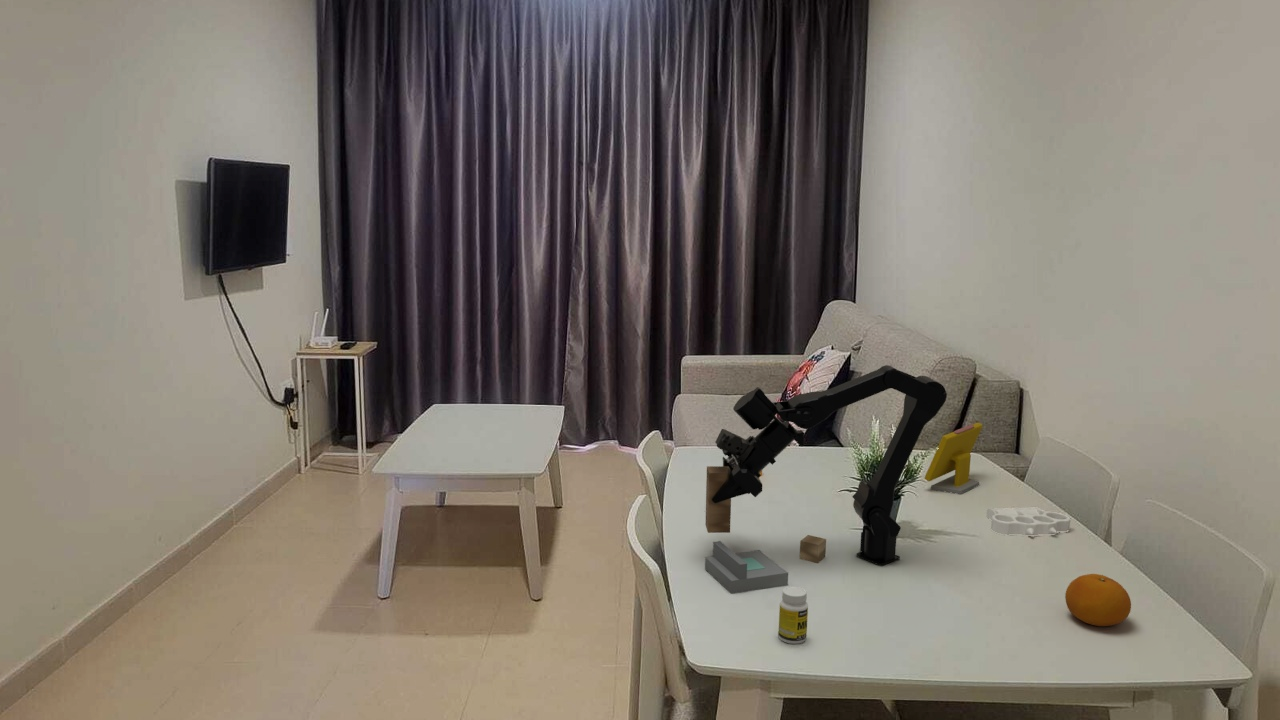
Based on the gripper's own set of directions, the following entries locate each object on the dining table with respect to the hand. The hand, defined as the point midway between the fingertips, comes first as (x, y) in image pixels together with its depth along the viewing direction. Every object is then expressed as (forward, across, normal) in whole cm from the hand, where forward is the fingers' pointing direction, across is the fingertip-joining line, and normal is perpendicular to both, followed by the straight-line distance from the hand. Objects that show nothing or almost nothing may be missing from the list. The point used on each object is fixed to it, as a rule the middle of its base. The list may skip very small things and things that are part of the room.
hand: (711, 497), depth 187 cm
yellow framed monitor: (-39, -47, +58) cm, 85 cm away
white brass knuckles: (-42, -18, +62) cm, 78 cm away
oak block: (-6, 0, +24) cm, 25 cm away
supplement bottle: (+2, +34, +17) cm, 38 cm away
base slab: (+5, +9, +14) cm, 17 cm away
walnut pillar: (+4, 0, +6) cm, 7 cm away
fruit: (-37, +28, +56) cm, 73 cm away
